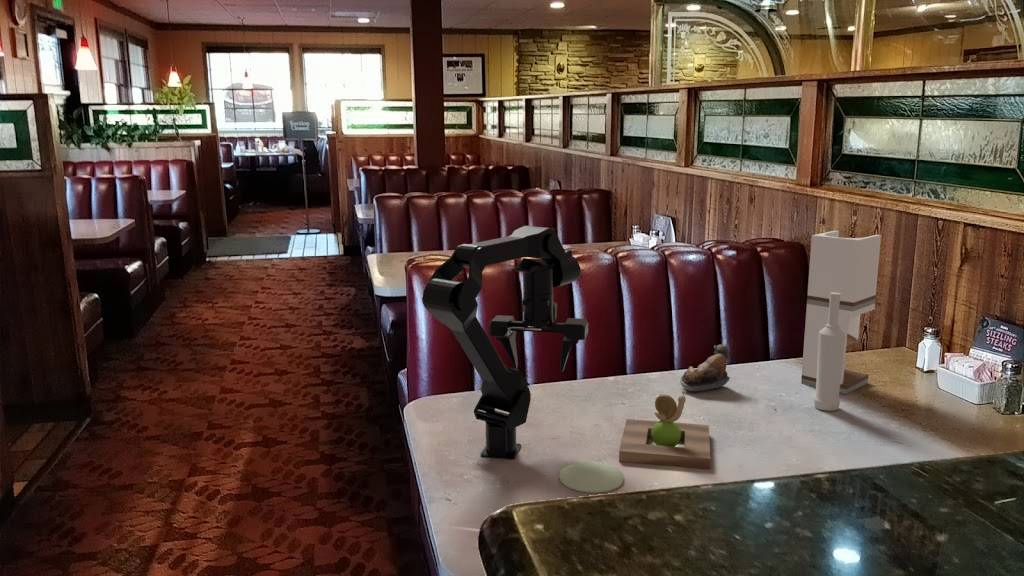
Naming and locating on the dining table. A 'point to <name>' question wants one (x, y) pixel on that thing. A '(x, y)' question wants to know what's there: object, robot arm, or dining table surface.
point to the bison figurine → (708, 372)
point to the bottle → (830, 359)
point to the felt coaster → (591, 477)
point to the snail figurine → (667, 420)
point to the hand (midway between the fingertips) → (538, 369)
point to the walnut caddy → (687, 456)
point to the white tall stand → (855, 278)
